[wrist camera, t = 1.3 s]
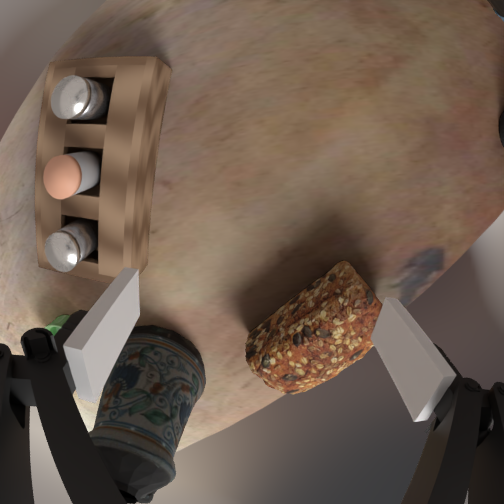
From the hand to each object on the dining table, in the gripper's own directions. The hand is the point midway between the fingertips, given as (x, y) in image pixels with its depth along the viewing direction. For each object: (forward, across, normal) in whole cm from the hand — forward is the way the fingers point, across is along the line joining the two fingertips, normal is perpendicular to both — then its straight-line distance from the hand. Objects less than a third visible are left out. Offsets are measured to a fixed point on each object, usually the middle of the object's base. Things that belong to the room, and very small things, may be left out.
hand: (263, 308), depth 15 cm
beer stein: (+25, -11, -29) cm, 40 cm away
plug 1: (+19, -19, +11) cm, 30 cm away
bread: (+25, +11, -15) cm, 31 cm away
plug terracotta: (+19, -20, +3) cm, 28 cm away
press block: (+24, -20, +3) cm, 32 cm away
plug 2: (+19, -20, -5) cm, 28 cm away
